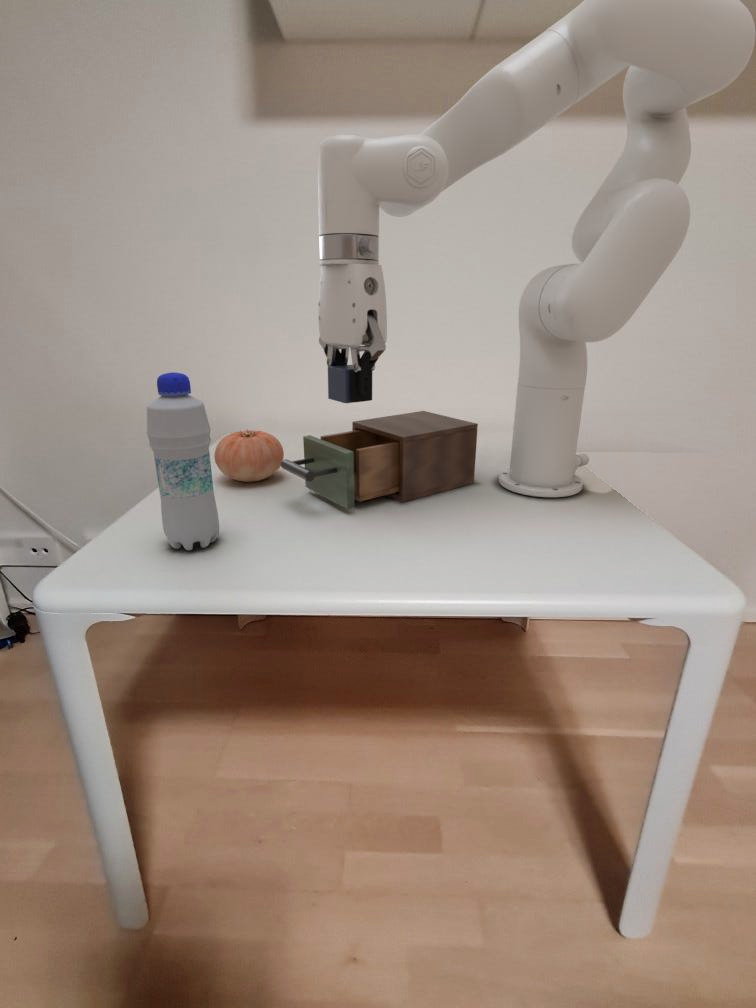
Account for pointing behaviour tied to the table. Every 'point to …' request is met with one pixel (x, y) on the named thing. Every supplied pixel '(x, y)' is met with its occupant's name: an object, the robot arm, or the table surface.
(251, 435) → the orange pumpkin
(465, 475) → the cabinet
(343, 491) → the drawer
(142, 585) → the table surface
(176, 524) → the bottle
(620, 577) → the table surface
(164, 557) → the table surface
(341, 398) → the block
